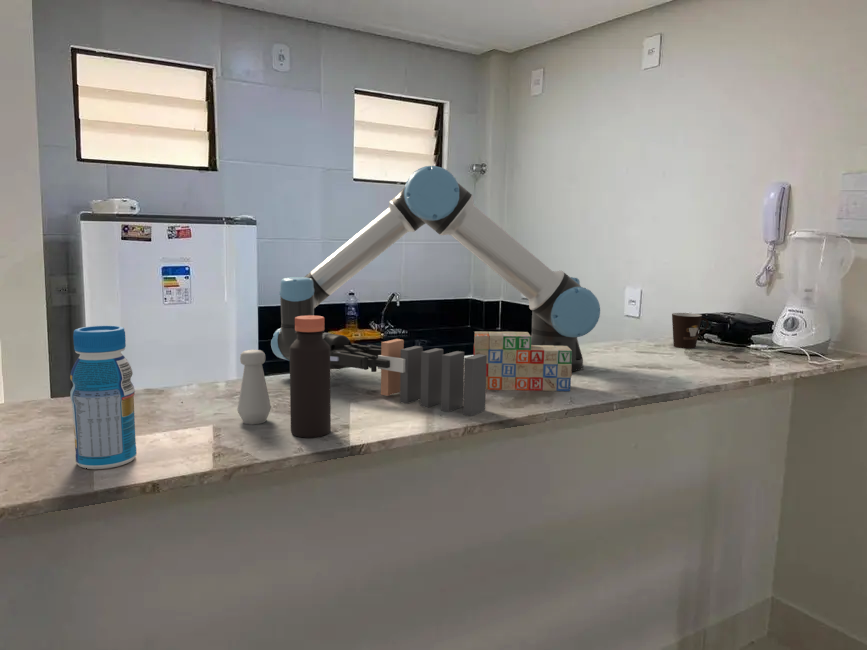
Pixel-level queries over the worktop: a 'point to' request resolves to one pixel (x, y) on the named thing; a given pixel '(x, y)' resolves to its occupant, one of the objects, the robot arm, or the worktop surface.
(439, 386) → the domino
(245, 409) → the salt shaker
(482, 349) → the stack of blocks
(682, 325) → the coffee mug
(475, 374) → the domino
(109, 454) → the beverage bottle
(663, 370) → the worktop surface
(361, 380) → the worktop surface
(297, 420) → the vinegar
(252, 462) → the worktop surface
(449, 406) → the domino
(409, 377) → the domino
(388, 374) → the orange domino
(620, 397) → the worktop surface
